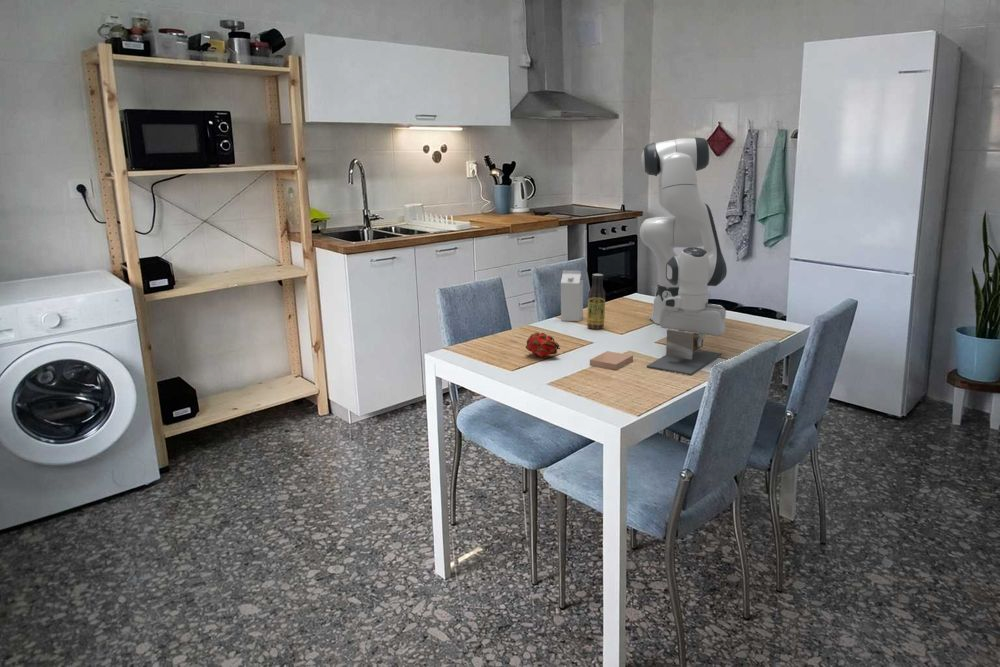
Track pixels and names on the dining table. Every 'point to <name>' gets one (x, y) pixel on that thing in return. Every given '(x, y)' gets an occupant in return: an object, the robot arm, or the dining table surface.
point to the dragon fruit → (541, 345)
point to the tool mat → (685, 362)
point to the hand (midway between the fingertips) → (690, 345)
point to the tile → (611, 360)
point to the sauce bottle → (596, 303)
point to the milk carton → (571, 296)
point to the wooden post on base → (681, 343)
